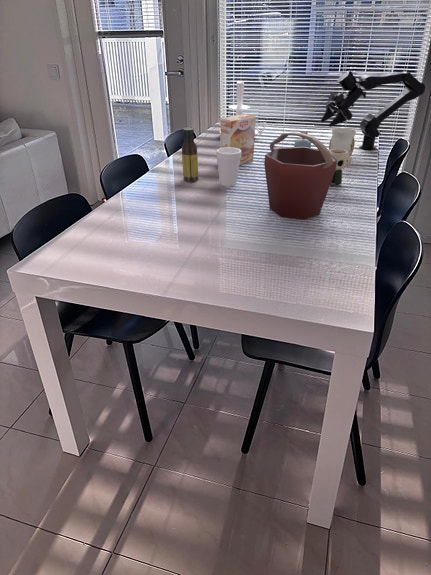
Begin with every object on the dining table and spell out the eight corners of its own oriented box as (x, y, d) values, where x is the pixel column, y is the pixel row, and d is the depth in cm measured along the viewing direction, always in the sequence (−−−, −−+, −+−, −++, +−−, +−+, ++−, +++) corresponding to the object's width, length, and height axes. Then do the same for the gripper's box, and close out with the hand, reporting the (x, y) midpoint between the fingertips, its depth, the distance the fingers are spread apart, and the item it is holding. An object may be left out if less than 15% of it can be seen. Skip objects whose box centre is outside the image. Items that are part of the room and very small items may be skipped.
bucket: (251, 201, 155) (255, 129, 141) (303, 193, 162) (312, 124, 149) (286, 228, 136) (295, 148, 122) (344, 217, 143) (358, 140, 130)
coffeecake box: (229, 167, 188) (231, 120, 177) (219, 164, 192) (219, 118, 182) (254, 161, 196) (256, 116, 186) (243, 157, 201) (245, 113, 190)
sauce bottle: (198, 177, 177) (197, 126, 166) (198, 182, 171) (197, 130, 161) (182, 177, 176) (181, 126, 166) (182, 182, 171) (180, 130, 160)
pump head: (302, 137, 209) (303, 130, 207) (308, 139, 207) (309, 131, 205) (298, 139, 207) (299, 131, 205) (304, 140, 205) (305, 133, 203)
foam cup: (243, 182, 172) (245, 149, 165) (234, 189, 165) (235, 155, 158) (221, 178, 176) (222, 146, 168) (212, 185, 168) (212, 152, 161)
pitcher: (353, 155, 205) (358, 125, 198) (349, 166, 191) (355, 134, 183) (330, 153, 208) (334, 123, 201) (324, 163, 194) (329, 132, 186)
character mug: (318, 185, 170) (322, 152, 163) (320, 179, 175) (324, 147, 168) (346, 188, 167) (352, 154, 160) (347, 182, 173) (353, 149, 166)
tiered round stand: (298, 146, 218) (299, 135, 215) (320, 151, 211) (322, 139, 208) (283, 151, 210) (284, 139, 207) (305, 157, 203) (307, 144, 200)
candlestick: (261, 144, 221) (265, 84, 206) (215, 141, 226) (215, 82, 211) (267, 135, 238) (271, 79, 223) (224, 132, 243) (225, 77, 228)
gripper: (332, 82, 206) (307, 108, 210) (350, 88, 191) (324, 115, 195) (344, 99, 212) (320, 124, 216) (363, 106, 197) (337, 133, 200)
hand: (325, 124), depth 207 cm, fingers open, 9 cm apart
